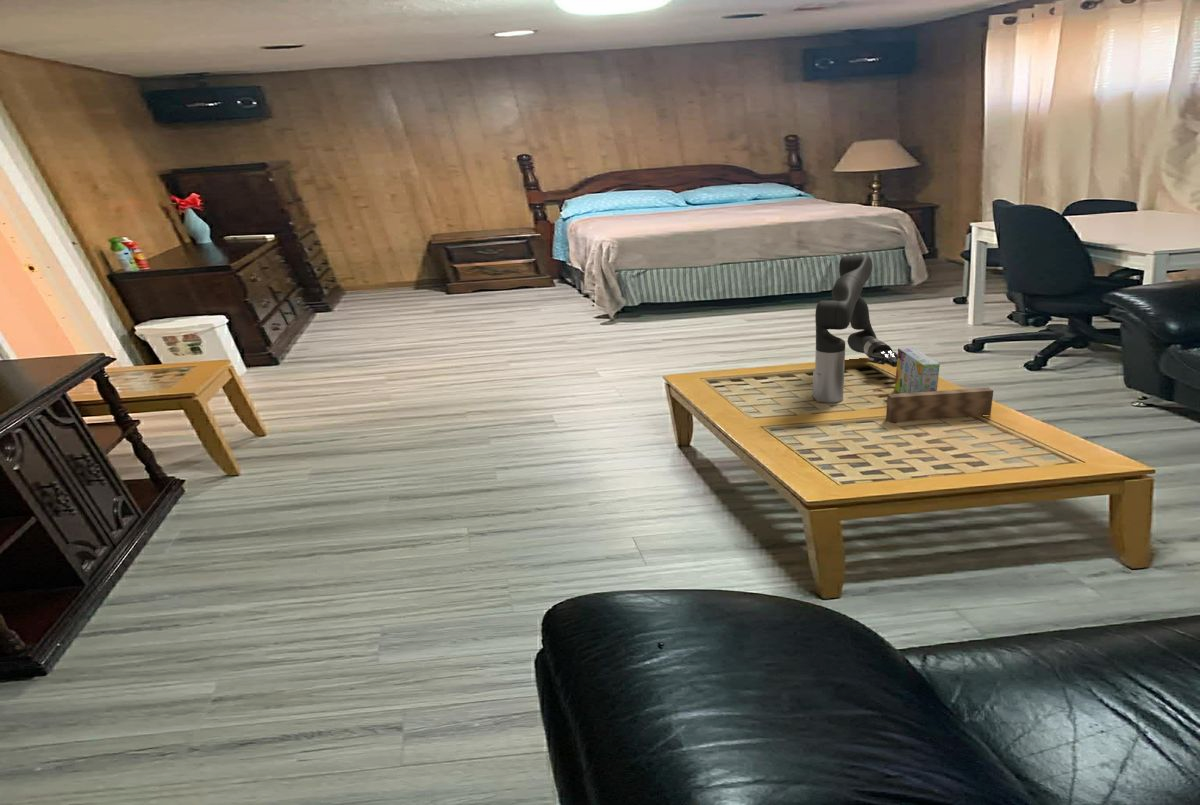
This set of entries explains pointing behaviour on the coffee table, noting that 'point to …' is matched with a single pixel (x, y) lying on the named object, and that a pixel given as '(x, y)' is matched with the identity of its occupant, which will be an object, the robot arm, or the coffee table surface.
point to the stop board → (939, 404)
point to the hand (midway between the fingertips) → (896, 364)
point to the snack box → (915, 372)
